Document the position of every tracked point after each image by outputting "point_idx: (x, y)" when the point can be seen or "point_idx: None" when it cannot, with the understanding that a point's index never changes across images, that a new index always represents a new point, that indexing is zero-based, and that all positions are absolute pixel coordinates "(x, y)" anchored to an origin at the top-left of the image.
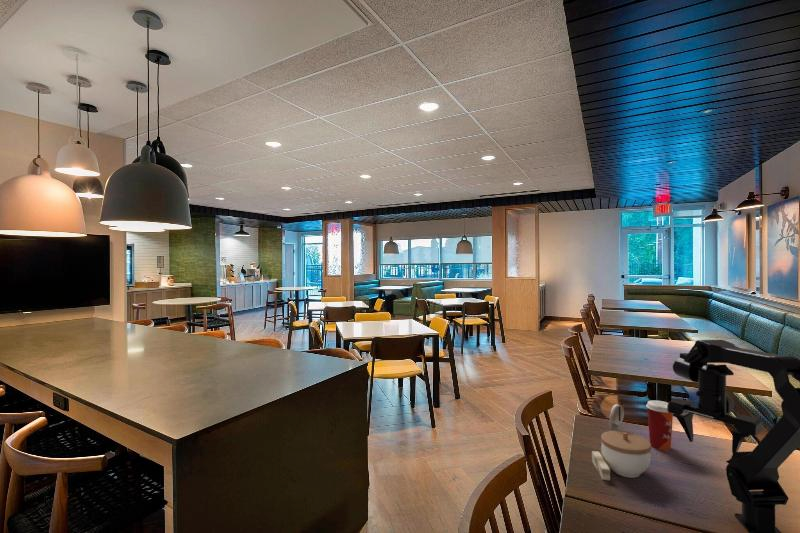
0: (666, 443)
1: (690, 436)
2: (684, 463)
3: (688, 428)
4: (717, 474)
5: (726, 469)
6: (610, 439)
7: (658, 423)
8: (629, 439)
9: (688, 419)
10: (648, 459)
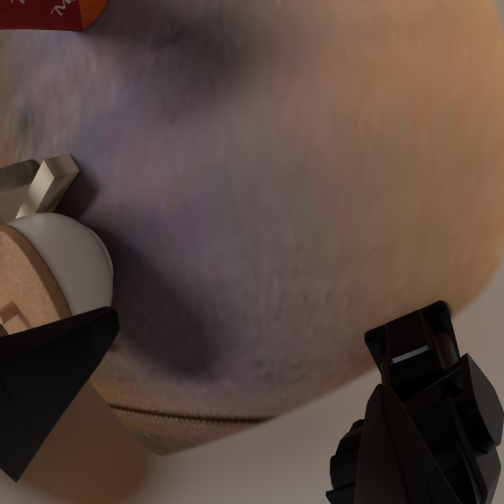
0: (84, 6)
1: (95, 367)
2: (163, 47)
3: (57, 412)
4: (277, 38)
5: (331, 466)
6: (12, 332)
7: (4, 22)
8: (16, 302)
9: (2, 433)
10: (92, 309)
